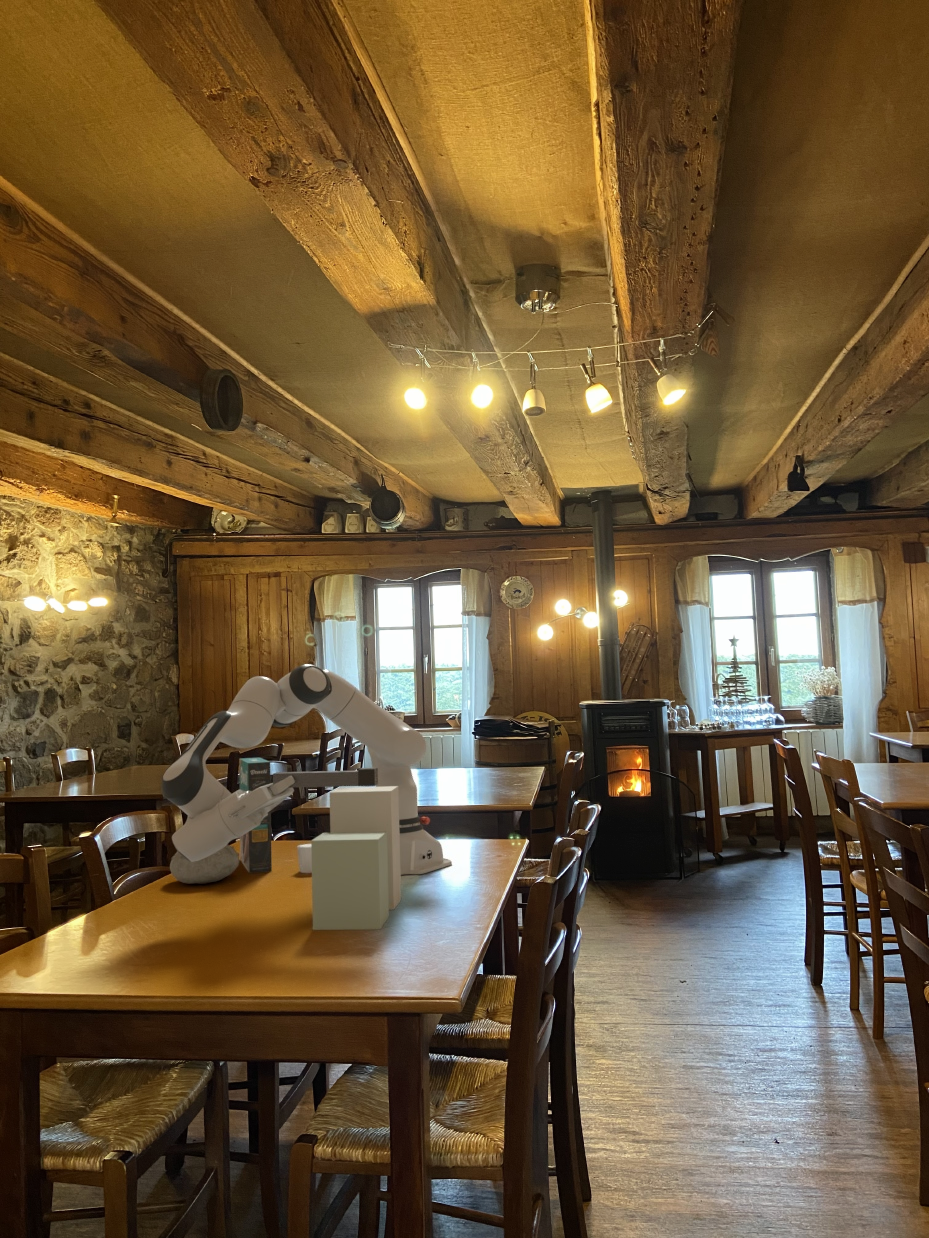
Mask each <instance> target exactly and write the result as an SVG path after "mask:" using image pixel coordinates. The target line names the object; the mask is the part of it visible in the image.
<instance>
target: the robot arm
mask: <svg viewBox="0 0 929 1238" xmlns="http://www.w3.org/2000/svg"><path fill="white" fill-rule="evenodd" d="M312 709H315V710H318V711H319V712H320V713H321V715H323V716H325V718H327V719H328V720H329V721H330V722H332V723H333V724H334V725H336V726H337V727H338V728H339V729H341V730H342V731H343V732H344V733H346V734H347V735H349V736H350V737H351V738H352V739H354V740H356V741H358V742H359V743H361V744H363V745H364V746H366V749H367V752H368V754H369V756H370V761H371V762H370V763H371V768H378V784H377V785H376V786H375V787H386V786H398V795H399V833H400V871H401V876H402V875H422V874H426V873H429V872H432V871H436V870H439V869H442V868H445V867H449V866H451V865H453V864H452V863H453V862H452V861H451V859H448V858H444V853H443V847H442V844H441V842H440V841H439V840H437V839H436V838H435V837H434V836H432V835H431V834H430V833H429V832H427V831H426V830H425V829H424V825H429V824H430V822H431V819H430V818H429V817H428V816H422V817H420V816H419V815H418V813H419V812H418V811H419V810H418V788H417V784H416V783H415V780H414V776H413V772H412V769H411V766H414V765H416V764H418V763H419V762H421V761H422V760H423V758H424V757H425V755H426V750H427V742H426V740H425V738H424V736H423V735H422V734H421V733H420V732H419V731H417V730H416V729H415V728H413V727H412V726H410V725H409V724H407V723H406V722H404V721H403V720H401V719H400V718H398V716H396V715H394V714H392V713H391V712H389V711H388V710H386V709H384V708H383V707H381V706H379V705H378V704H377V703H376V702H375V701H373V700H372V699H371V698H369V697H368V696H367V695H366V694H365V693H363V692H362V691H360V690H359V689H358V688H357V687H355V686H354V685H353V684H352V683H350V682H349V681H347V680H346V679H345V678H343V677H342V676H340V675H338V674H337V673H335V672H333V671H331V670H329V669H322V668H321V667H318V666H317V665H314V664H311V663H309V664H308V663H306V664H301V665H299V666H296V667H294V668H293V669H292V670H291V671H290V672H289V673H287V674H285V675H284V676H282V677H281V678H280V679H279V680H278V681H277V682H275V681H274V680H273V679H272V678H270V677H266V676H262V675H261V676H259V675H256V676H253V677H251V678H250V679H248V680H247V681H246V682H245V683H244V684H243V686H242V687H241V688H240V690H238V692H237V694H236V695H235V697H234V699H233V700H232V702H231V703H230V706H229V708H228V710H221V711H219V712H217V713H215V714H213V715H212V716H211V717H210V718H208V720H207V721H206V722H205V723H204V725H202V727H201V728H200V729H199V730H198V732H197V733H196V734H195V736H193V738H192V740H191V741H190V742H189V743H188V745H187V746H186V748H185V749H184V750H183V751H182V753H181V754H180V755H179V756H178V757H177V758H176V759H175V760H174V761H173V762H172V763H171V764H170V765H169V766H168V767H167V768H166V770H165V771H164V772H163V773H162V776H161V782H160V788H161V789H160V792H161V795H162V796H163V798H165V799H167V801H169V802H171V803H172V804H173V805H175V806H176V807H178V808H179V809H180V810H181V811H182V812H183V813H184V814H186V815H187V818H186V821H185V823H184V824H183V825H182V826H181V827H180V828H179V829H177V830H176V831H175V832H173V834H172V835H171V841H172V844H173V846H174V848H175V849H176V852H177V851H178V852H179V853H180V854H181V855H182V856H183V857H184V858H185V859H187V860H188V861H191V862H195V861H199V860H201V859H204V858H206V857H208V856H210V855H212V854H213V853H215V852H217V851H219V850H220V849H222V848H223V847H225V846H226V845H227V844H228V845H229V843H230V842H231V841H234V840H235V839H238V838H240V837H241V836H243V835H244V834H246V833H247V832H249V831H251V830H252V829H254V828H256V827H257V826H259V825H260V823H261V821H262V820H263V818H265V817H266V816H267V815H268V812H269V811H270V810H271V811H272V810H273V809H274V808H275V807H277V806H278V805H280V804H281V803H282V802H283V801H285V800H286V799H287V798H289V797H290V796H291V795H293V793H294V792H295V789H294V787H291V788H288V787H289V786H291V785H292V784H294V783H295V782H296V780H295V778H294V776H289V777H287V778H285V779H284V780H282V781H280V782H278V783H276V784H274V785H273V782H270V784H268V785H265V786H262V787H259V788H257V789H255V790H253V791H243V790H240V789H238V790H236V791H234V792H233V793H232V792H230V790H228V789H227V788H226V787H225V785H223V784H222V783H221V782H220V781H219V780H218V779H217V778H216V777H214V776H213V774H211V773H210V771H209V770H208V768H207V764H206V763H207V762H206V761H207V759H208V758H209V757H210V756H211V754H212V753H213V751H214V750H215V748H216V747H217V745H218V744H219V743H223V744H226V745H228V746H230V747H233V748H237V749H250V748H254V747H256V746H258V745H260V744H261V743H263V742H264V741H265V739H266V738H267V736H268V735H269V732H270V730H271V728H272V726H273V727H278V728H282V727H288V726H290V725H292V724H294V723H295V722H296V721H298V720H299V719H301V718H303V717H304V716H306V715H308V713H309V712H310V711H311V710H312Z"/></svg>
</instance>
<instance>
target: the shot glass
mask: <svg viewBox="0 0 929 1238" xmlns="http://www.w3.org/2000/svg"><path fill="white" fill-rule="evenodd" d="M296 848H297V849H296V850H297V858H298V866H299V867H298V868H299V873H302V874H312V849H311V843H310V842H309V843H301V844H298V845H297V846H296Z"/></svg>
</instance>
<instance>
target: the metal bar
mask: <svg viewBox="0 0 929 1238" xmlns="http://www.w3.org/2000/svg"><path fill="white" fill-rule="evenodd" d="M289 776H294V778H295V780H296V782H295V783H294V784H292V785H291V786H289V787H288V788H291V787H293V788H322V787H323V788H326V787H327V788H328V787H333V788H335V787H337V788H338V787H339V788H340V787H376V785H377V784H378V768H372V767H361V768H358V769H357V770H329V771H328V770H326V771H325V770H322V771H320V770H319V771H318V770H317V771H316V770H315V771H279V772H278V771H277V772H274V773H272V783H273V785H274V784H276V783H278V782H280V781H282V780H284V779H285V778H287V777H289Z"/></svg>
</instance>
